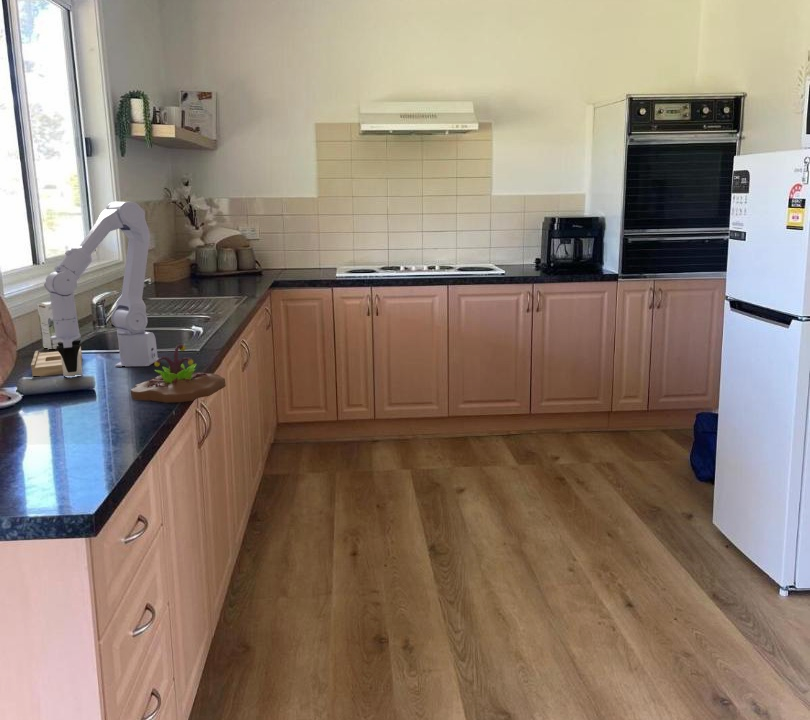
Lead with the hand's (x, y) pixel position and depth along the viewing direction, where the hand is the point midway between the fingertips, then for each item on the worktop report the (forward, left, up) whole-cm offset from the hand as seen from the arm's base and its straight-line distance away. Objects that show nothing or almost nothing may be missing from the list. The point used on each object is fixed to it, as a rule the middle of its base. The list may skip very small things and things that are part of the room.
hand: (72, 369), depth 201 cm
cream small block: (0, 0, -2) cm, 2 cm away
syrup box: (+25, -37, -2) cm, 45 cm away
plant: (-35, +16, -2) cm, 38 cm away
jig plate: (+10, -11, -2) cm, 15 cm away
